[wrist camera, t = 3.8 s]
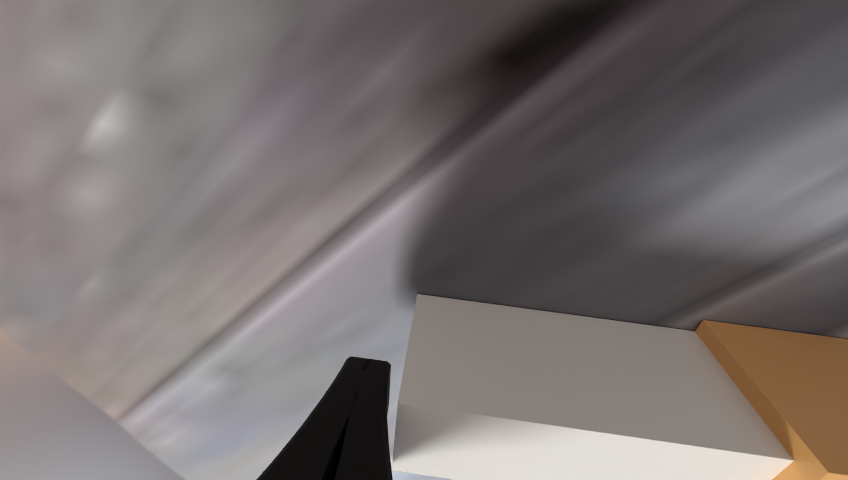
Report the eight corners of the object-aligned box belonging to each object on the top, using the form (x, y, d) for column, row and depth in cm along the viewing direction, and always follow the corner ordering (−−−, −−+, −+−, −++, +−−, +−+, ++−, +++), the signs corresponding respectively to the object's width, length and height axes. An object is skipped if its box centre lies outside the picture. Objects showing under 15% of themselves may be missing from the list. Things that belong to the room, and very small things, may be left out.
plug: (787, 418, 13) (924, 582, 9) (409, 365, 14) (387, 499, 10) (867, 341, 11) (1085, 510, 7) (418, 281, 12) (395, 409, 8)
